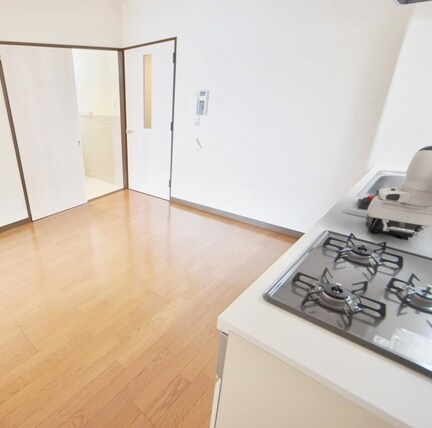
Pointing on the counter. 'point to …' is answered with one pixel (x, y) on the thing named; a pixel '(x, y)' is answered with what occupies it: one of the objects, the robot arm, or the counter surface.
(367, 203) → the release box
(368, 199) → the release button
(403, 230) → the oven door
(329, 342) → the counter surface
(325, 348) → the counter surface
